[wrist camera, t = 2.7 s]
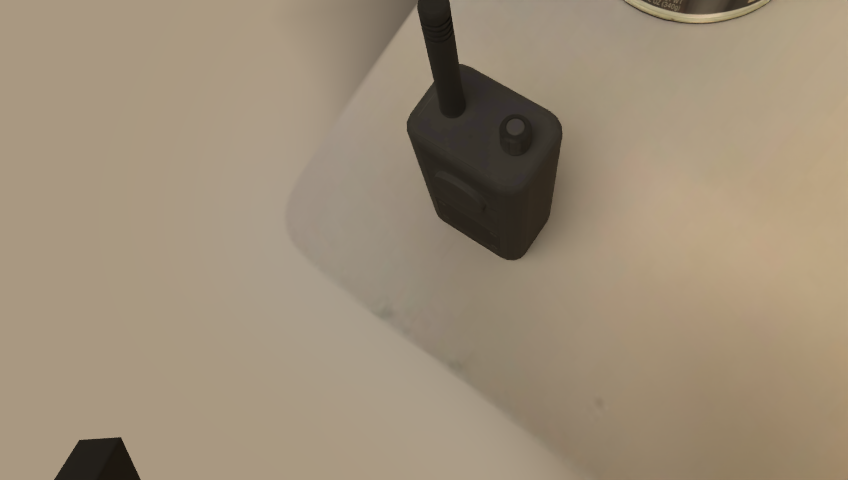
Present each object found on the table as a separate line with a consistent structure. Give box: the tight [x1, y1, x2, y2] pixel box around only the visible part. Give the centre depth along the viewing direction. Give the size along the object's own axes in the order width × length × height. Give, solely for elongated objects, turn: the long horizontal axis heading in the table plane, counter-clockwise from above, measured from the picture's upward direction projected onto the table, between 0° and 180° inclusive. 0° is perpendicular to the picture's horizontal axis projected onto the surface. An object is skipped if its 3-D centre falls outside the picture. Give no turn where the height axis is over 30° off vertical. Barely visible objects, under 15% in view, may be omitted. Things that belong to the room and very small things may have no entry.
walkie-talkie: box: [407, 0, 562, 260], centre depth 24 cm, size 5×3×15 cm
